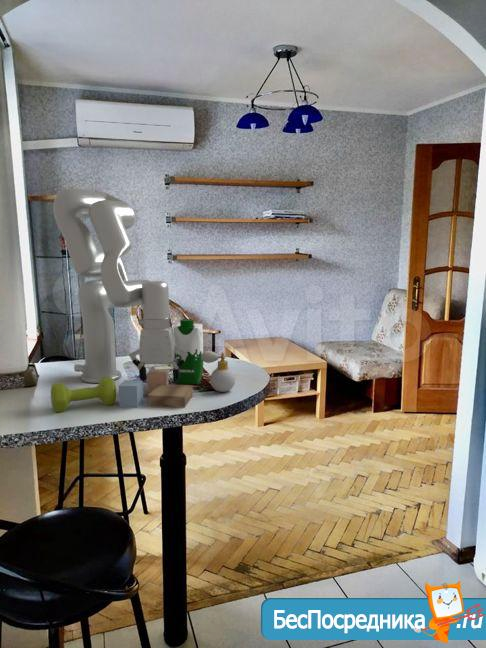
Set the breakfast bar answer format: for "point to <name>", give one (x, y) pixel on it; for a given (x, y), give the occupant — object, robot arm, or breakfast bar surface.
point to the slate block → (130, 393)
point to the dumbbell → (82, 394)
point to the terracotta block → (156, 378)
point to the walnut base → (170, 395)
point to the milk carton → (189, 350)
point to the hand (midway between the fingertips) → (159, 381)
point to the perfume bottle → (219, 372)
